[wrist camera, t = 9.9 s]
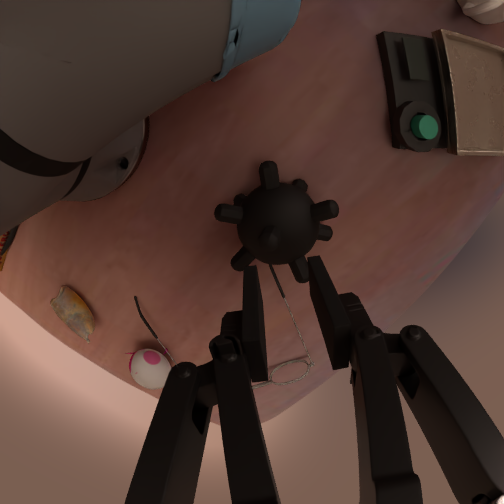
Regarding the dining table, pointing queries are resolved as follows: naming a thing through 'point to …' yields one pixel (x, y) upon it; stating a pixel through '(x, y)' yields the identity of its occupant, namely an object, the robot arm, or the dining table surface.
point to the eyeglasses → (276, 367)
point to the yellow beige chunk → (73, 312)
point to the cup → (483, 10)
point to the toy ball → (277, 222)
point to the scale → (411, 93)
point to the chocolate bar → (0, 243)
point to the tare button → (424, 126)
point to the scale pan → (465, 90)
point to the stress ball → (149, 368)
